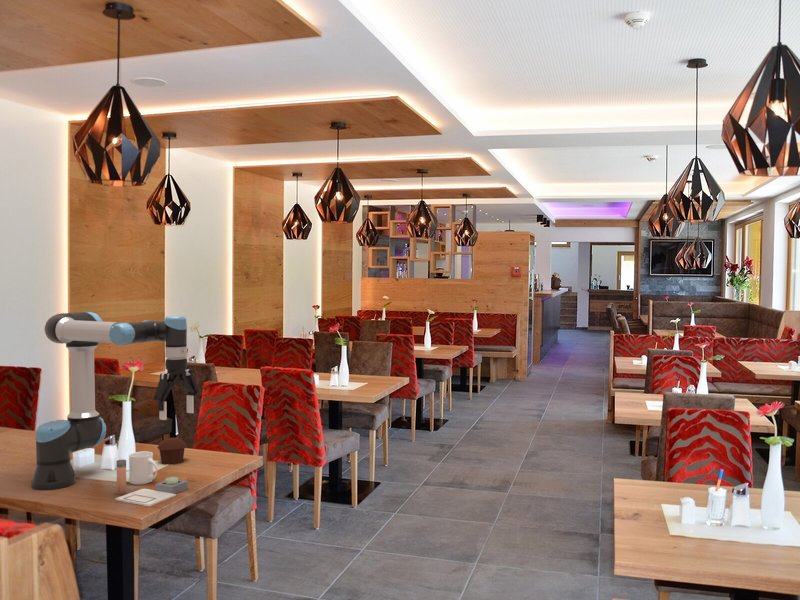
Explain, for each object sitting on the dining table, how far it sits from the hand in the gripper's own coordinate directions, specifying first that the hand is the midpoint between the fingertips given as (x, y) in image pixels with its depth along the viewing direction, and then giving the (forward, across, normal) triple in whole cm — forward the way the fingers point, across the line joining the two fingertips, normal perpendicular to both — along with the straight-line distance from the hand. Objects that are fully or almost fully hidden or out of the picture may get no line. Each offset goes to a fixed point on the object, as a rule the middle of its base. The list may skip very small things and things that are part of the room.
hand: (177, 416), depth 258 cm
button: (+26, 0, +3) cm, 27 cm away
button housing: (+28, 0, +3) cm, 28 cm away
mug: (+28, +4, +20) cm, 35 cm away
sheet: (+28, -10, +5) cm, 30 cm away
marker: (+28, -10, +17) cm, 34 cm away
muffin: (+28, +30, +32) cm, 53 cm away
